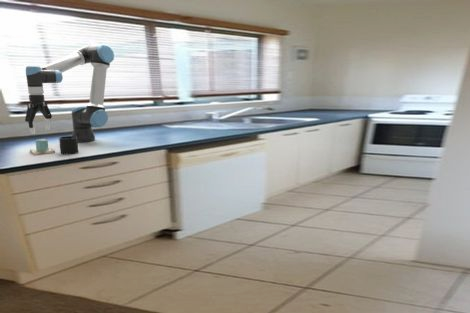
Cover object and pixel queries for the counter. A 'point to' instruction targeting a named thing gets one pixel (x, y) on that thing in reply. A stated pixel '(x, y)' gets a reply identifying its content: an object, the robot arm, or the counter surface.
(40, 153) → the post block
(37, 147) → the cap
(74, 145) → the mug
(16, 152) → the counter surface
